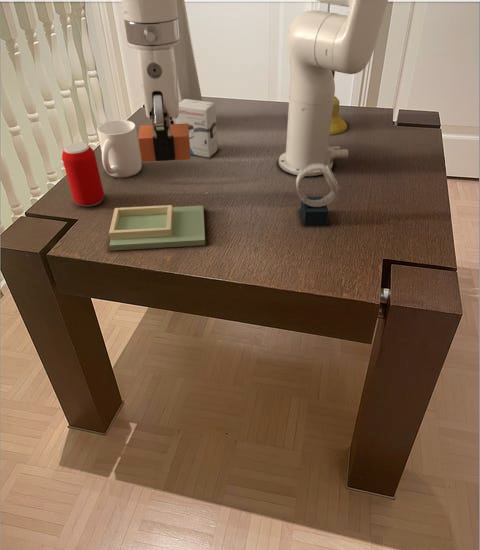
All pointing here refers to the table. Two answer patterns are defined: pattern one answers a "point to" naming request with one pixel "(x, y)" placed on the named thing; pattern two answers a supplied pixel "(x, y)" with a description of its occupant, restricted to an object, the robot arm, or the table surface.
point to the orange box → (179, 136)
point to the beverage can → (83, 174)
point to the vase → (185, 60)
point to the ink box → (199, 126)
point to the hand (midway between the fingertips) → (166, 150)
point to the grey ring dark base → (316, 207)
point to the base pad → (157, 227)
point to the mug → (119, 148)
